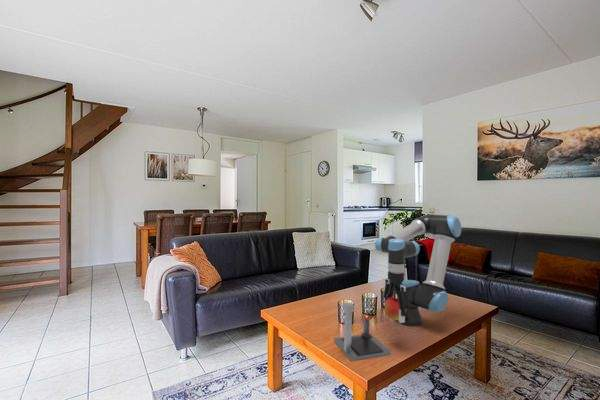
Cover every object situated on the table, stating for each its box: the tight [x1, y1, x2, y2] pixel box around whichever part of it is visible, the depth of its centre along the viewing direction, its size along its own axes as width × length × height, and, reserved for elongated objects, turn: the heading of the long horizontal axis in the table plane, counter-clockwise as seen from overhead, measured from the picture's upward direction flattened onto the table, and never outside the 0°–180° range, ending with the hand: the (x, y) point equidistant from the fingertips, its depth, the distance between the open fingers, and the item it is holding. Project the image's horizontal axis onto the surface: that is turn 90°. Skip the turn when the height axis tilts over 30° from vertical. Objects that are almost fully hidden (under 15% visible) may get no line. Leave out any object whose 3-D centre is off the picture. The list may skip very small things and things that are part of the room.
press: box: [333, 302, 392, 362], centre depth 140 cm, size 21×18×22 cm
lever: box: [360, 314, 372, 338], centre depth 148 cm, size 4×3×11 cm
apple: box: [384, 297, 406, 321], centre depth 142 cm, size 10×10×10 cm
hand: (395, 317), depth 142 cm, fingers closed on apple, 9 cm apart
